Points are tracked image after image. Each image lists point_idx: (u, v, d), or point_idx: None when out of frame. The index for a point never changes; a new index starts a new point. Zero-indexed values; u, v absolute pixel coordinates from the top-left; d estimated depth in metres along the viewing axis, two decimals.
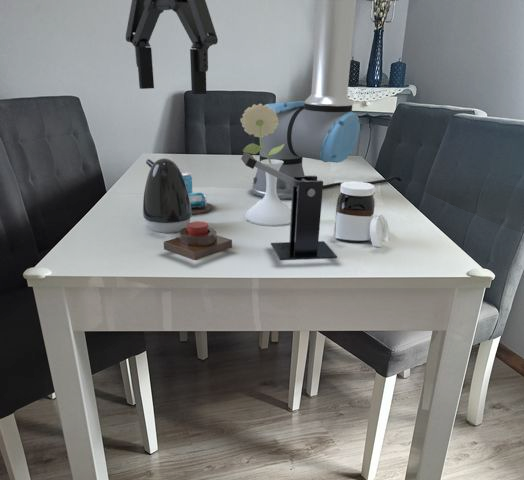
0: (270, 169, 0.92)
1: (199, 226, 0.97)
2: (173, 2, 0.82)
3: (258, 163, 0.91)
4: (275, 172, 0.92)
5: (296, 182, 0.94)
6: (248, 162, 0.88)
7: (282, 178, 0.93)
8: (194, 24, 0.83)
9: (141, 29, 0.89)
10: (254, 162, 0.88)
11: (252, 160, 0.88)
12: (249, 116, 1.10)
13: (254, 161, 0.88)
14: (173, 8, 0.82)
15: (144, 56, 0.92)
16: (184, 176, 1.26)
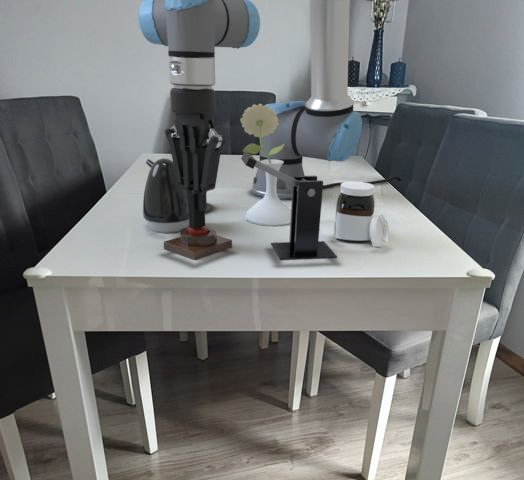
0: (270, 169, 0.92)
1: (199, 229, 0.98)
2: (193, 149, 0.90)
3: (258, 163, 0.91)
4: (275, 172, 0.92)
5: (296, 182, 0.94)
6: (248, 162, 0.88)
7: (282, 178, 0.93)
8: (202, 172, 0.93)
9: (187, 171, 0.93)
10: (254, 162, 0.88)
11: (252, 160, 0.88)
12: (249, 116, 1.10)
13: (254, 161, 0.88)
14: (191, 151, 0.90)
15: None
16: None
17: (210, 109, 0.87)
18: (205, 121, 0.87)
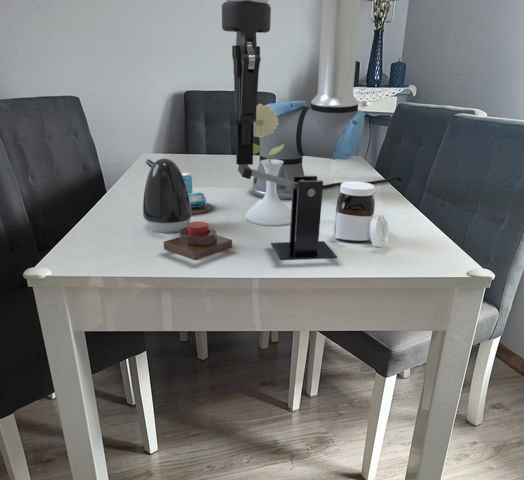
0: (267, 176, 0.92)
1: (199, 226, 0.97)
2: (236, 71, 0.82)
3: (254, 172, 0.92)
4: (273, 178, 0.93)
5: (295, 184, 0.94)
6: (244, 173, 0.89)
7: (280, 182, 0.93)
8: None
9: (237, 99, 0.87)
10: (250, 172, 0.89)
11: (248, 171, 0.89)
12: None
13: (250, 171, 0.89)
14: (236, 75, 0.83)
15: None
16: (184, 176, 1.26)
17: (252, 25, 0.78)
18: (243, 38, 0.78)
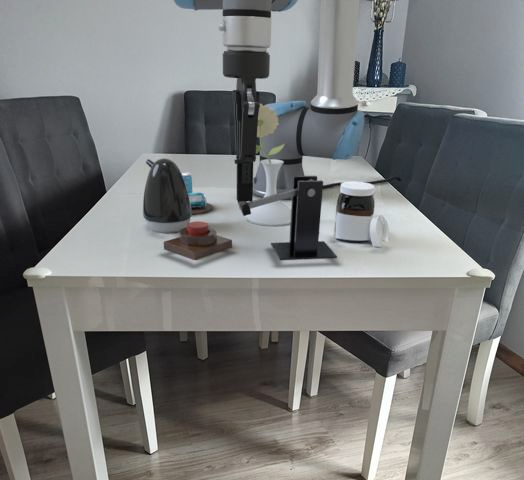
0: (265, 200, 0.94)
1: (199, 226, 0.97)
2: (236, 115, 0.86)
3: (253, 203, 0.94)
4: (271, 198, 0.94)
5: (294, 192, 0.95)
6: (243, 212, 0.92)
7: (280, 198, 0.95)
8: None
9: (237, 140, 0.90)
10: (248, 208, 0.92)
11: (245, 208, 0.92)
12: None
13: (247, 208, 0.92)
14: (236, 118, 0.86)
15: None
16: (184, 176, 1.26)
17: (251, 73, 0.81)
18: (243, 85, 0.82)
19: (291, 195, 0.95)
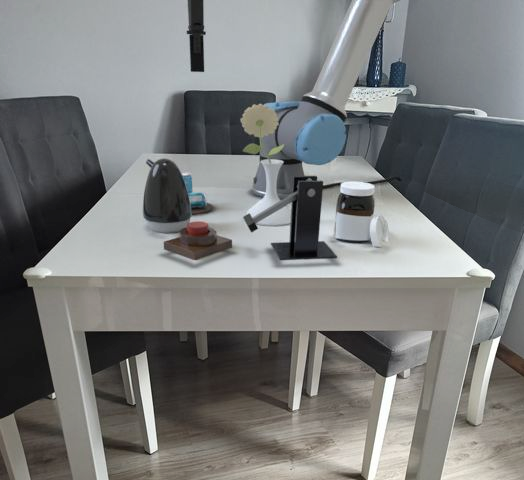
0: (269, 210, 0.96)
1: (199, 226, 0.97)
2: None
3: (258, 217, 0.96)
4: (274, 207, 0.95)
5: (295, 195, 0.95)
6: (250, 229, 0.94)
7: (283, 205, 0.95)
8: None
9: (189, 14, 1.03)
10: (254, 224, 0.94)
11: (251, 225, 0.94)
12: (249, 116, 1.10)
13: (253, 224, 0.94)
14: None
15: None
16: (184, 176, 1.26)
17: None
18: None
19: (293, 199, 0.95)
